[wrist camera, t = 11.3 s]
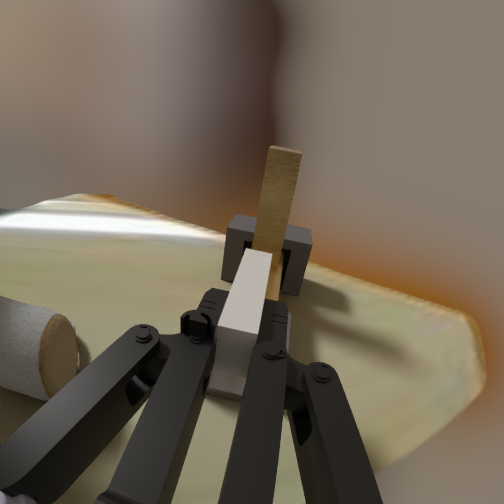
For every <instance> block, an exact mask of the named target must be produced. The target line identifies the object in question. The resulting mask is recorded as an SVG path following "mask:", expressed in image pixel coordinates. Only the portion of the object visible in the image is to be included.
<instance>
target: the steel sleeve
mask: <svg viewBox="0 0 504 504" xmlns="http://www.w3.org/2000/svg"><path fill="white" fill-rule="evenodd" d="M290 325H291V313H290V312H288V324H287V340H286V350H287V352H288V353H289V340H290ZM245 383H246V378H243V377H239V376H234V375H229V374H225V373H221V372H217V371H213V368H212V371H211V376H210V383H209V386H208V389H207V392H206V393H207V394H211V395H215V396H219V397H223V398H227V399H232V400H236V401H241V400H242V395H243V391H244V387H245Z"/></svg>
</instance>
